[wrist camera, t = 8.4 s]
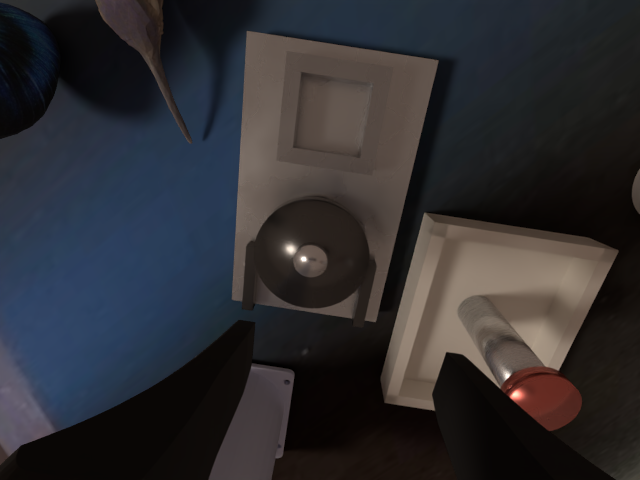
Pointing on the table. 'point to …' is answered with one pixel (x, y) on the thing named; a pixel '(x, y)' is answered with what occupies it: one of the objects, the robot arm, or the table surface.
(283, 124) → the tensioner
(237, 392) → the robot arm
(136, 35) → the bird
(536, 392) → the pin
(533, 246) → the tray
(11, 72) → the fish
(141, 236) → the table surface
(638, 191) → the sign
